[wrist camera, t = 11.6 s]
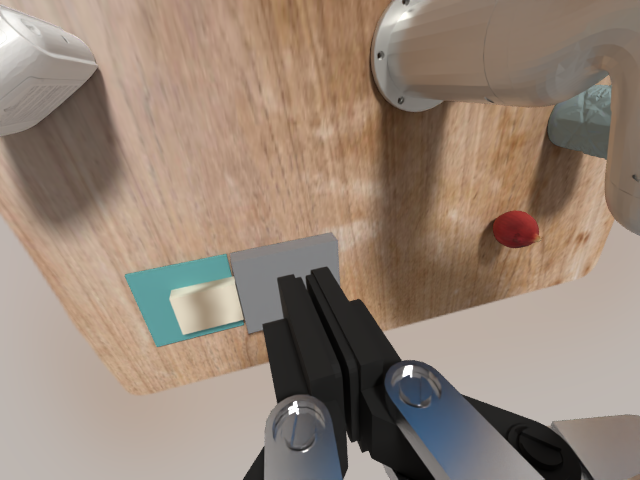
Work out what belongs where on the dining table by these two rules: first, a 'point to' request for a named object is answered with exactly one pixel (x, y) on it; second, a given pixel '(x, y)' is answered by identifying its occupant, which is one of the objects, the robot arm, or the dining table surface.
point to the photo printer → (37, 69)
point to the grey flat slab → (278, 273)
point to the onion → (516, 229)
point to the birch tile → (207, 305)
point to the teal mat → (156, 290)
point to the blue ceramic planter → (583, 122)
